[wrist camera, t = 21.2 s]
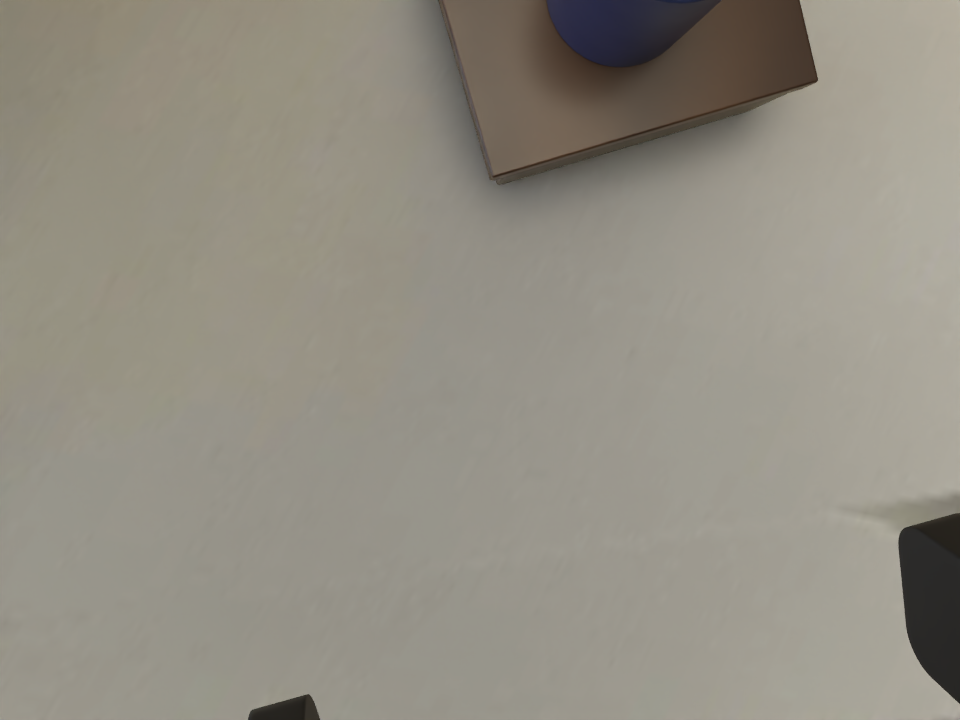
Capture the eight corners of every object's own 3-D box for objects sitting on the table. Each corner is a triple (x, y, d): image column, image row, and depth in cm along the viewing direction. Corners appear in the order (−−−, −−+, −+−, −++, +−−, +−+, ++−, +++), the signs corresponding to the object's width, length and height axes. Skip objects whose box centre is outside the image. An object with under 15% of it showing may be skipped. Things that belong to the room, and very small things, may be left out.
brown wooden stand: (485, 188, 38) (492, 178, 32) (416, -53, 36) (409, -111, 30) (760, 107, 38) (819, 81, 32) (701, -138, 36) (750, -213, 30)
